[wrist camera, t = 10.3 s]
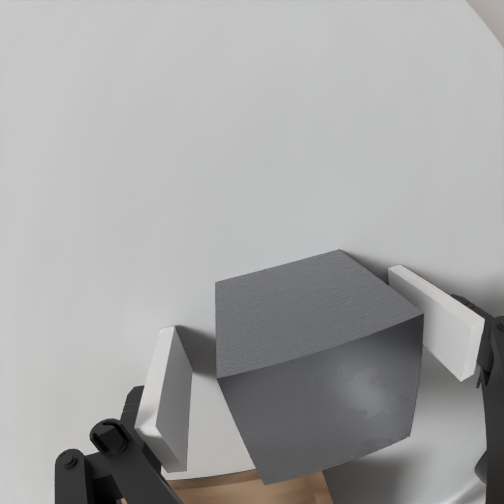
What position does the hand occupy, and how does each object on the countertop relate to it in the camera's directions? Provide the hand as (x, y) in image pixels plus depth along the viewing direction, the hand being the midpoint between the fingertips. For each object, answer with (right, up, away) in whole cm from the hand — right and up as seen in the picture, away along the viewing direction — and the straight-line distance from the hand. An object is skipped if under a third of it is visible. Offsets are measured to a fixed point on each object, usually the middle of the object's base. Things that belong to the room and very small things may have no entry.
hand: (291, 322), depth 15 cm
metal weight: (0, 0, 0) cm, 0 cm away
